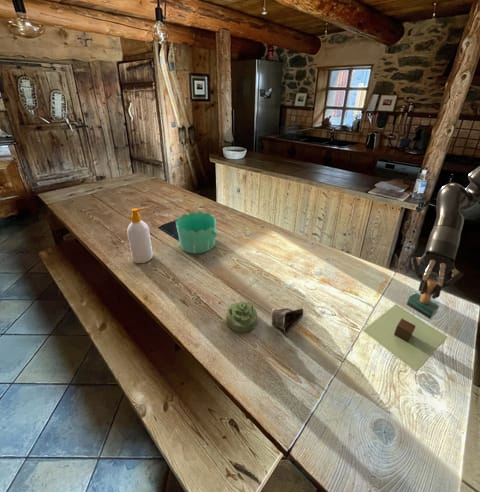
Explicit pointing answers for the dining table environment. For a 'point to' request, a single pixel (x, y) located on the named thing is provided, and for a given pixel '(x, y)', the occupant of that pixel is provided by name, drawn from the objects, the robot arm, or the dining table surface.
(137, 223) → the soap bottle
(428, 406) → the dining table surface
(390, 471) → the dining table surface
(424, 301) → the brush
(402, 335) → the brown cube
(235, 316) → the decorative artifact
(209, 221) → the basket
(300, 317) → the dark flower pot
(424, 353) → the mat
